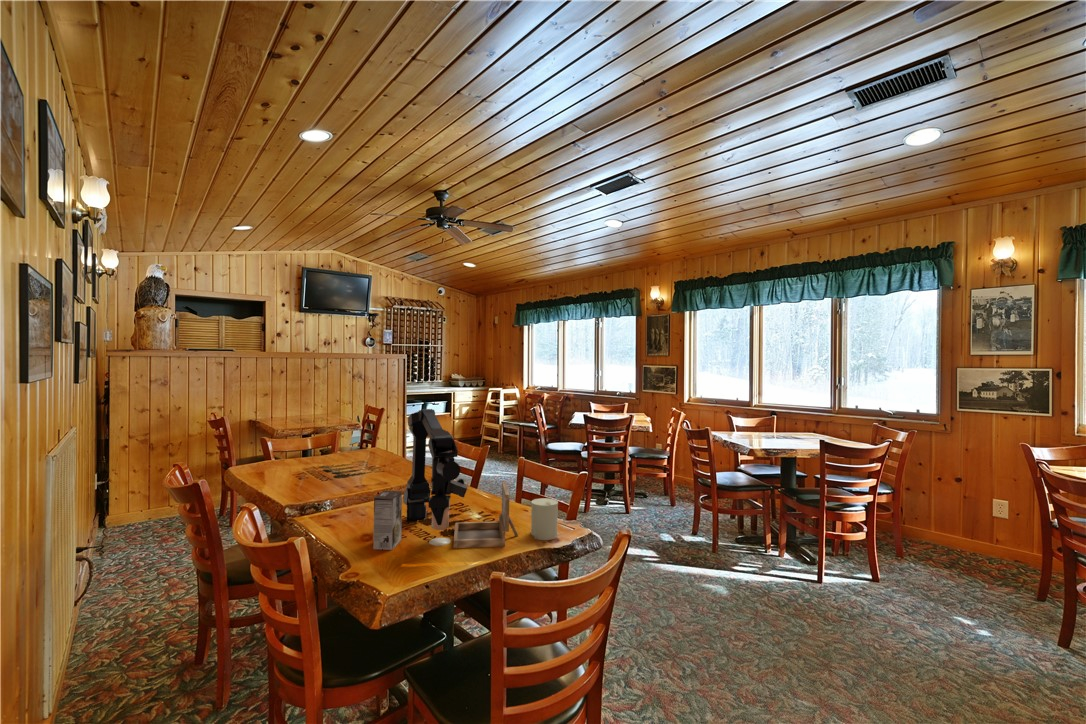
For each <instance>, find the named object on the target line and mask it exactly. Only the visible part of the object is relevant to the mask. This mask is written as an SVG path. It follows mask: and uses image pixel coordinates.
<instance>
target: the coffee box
mask: <svg viewBox="0 0 1086 724" xmlns="http://www.w3.org/2000/svg"><path fill="white" fill-rule="evenodd" d="M402 492H403V491H400V490H399V491H397V490H383V491H381V492H380V493H379V494H378V495H376V496H375V497H374V498H373V538H372V539H373V542H372V543H373V544H372V545H373V547H372V548H373V550H382V549H383V550H386V551H388V550H389V551H392V550H393V549H395V548H396V546H398V544H399V543H400V542H401V541H402V514H403V513H402V512H403V509H402V508H403V507H402V504H403V503H402V501H403V500H402V499H403V496H402V495H403V494H402Z"/></svg>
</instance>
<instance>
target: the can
mask: <svg viewBox="0 0 1086 724" xmlns="http://www.w3.org/2000/svg"><path fill="white" fill-rule="evenodd" d="M558 507H559V501H558V499H557V500H556V499H554V498H548V497H545V498H544V497H543V498H542V497H541V498H534V499H532V500H531V514H530V515H531V518H530V519H531V521H530V523H531V524H530V525H531V526H530V527H531V528H530V534H531V536H533V538H534V540H538V541H539V540H540V541H550V540H551V541H552V540H556V538H558V536H559V535H558V516H559V515H558V513H559V512H558V511H559V510H558V509H559V508H558Z"/></svg>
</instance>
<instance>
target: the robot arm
mask: <svg viewBox="0 0 1086 724" xmlns="http://www.w3.org/2000/svg"><path fill="white" fill-rule="evenodd" d="M407 425H408V428H409V429H408V430H409V431H410V433H411V434H412V437H413V438H412V440H413V441H412V462H411V463H412V465H411V466H412V469H411V477H409V479H408V481H407V483H406V488H405V490H404V492H403V494H402V495H403V496H402V499H403V500H402V501H403V504H405V505H406V519H405V522H407V523H408V522H409V523H410V522H418V521H425V519H426V518H427V508H429V509H430V510H431V513H432V512H433V515H434V517H435V519H436V522H437V524H438V525H441V524H442V519H443V514H444V510H445V509H446V508H447V507H449V504H450V499H451V497H452V496H451V495H452V494H453V495H456V496H459V497H460V498H465V495H466V492H467V490H468V488H469V486H468V484H467V483H465V479H463V478H460V477H459V475H460V474H461V467H460V464H459V463H458V462H456V461H455V458H458V452H459V450H458V447H457V445H456V444H457V443H456V441H455V438H454V437H453V435H452V434H451V433H450V432H449V431H448V430H446V429H445V430H444V429H443V427H442V425H441V423H440V421H439V419H438V418H437V416H436V411H435V409H432V408H423V409H422V408H421V409H419V410H418V411H416V412H412V413H411V414H410V415H409V416H408V418H407ZM428 436H429V437H428ZM427 438H429V439H428V449H429V453H430V455H431V479H430V480H431V487H430V483H429V482H428V480H427V478H426V453H427V452H426V451H427ZM458 477H459V479H457V478H458ZM456 479H457V480H456ZM426 503H427V504H428V505H426ZM450 505H451V504H450ZM427 506H428V507H427Z"/></svg>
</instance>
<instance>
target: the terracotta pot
mask: <svg viewBox="0 0 1086 724" xmlns="http://www.w3.org/2000/svg"><path fill="white" fill-rule="evenodd" d="M450 509H451V504H449V507H447V508H446V509H445V510H444V514H443V519H442V524H441V525H438V524H437V522H436V519H435V517H434V515H433V512H432V511H431V529H433V530H435V531H436V530H439V531H440V530H441V531H442V530H447V529H448V528H449V527H450V526H449V525H450V523H449V521H450Z"/></svg>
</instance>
